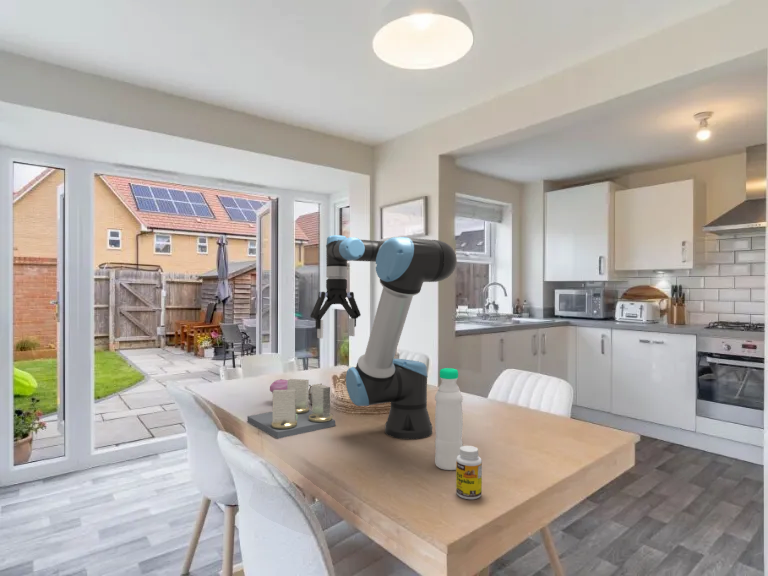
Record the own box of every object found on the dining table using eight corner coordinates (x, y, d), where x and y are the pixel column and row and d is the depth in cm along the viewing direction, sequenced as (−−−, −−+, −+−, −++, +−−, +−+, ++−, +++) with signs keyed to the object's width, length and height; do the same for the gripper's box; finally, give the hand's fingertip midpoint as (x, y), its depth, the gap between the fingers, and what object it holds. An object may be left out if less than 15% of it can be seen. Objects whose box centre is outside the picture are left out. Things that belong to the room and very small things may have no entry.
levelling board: (335, 425, 149) (335, 414, 149) (277, 438, 135) (277, 425, 135) (301, 411, 166) (301, 401, 166) (247, 421, 153) (247, 410, 153)
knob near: (298, 421, 146) (298, 387, 146) (295, 428, 138) (295, 393, 138) (273, 421, 145) (273, 388, 145) (269, 429, 137) (269, 393, 137)
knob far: (312, 408, 162) (312, 378, 162) (304, 414, 154) (304, 382, 155) (291, 407, 164) (292, 377, 164) (282, 412, 156) (283, 381, 156)
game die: (319, 414, 177) (325, 397, 171) (300, 406, 177) (305, 389, 172) (327, 398, 184) (332, 382, 179) (308, 391, 185) (313, 374, 179)
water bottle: (429, 465, 114) (429, 368, 115) (446, 458, 119) (446, 365, 120) (451, 473, 109) (451, 372, 110) (468, 466, 114) (468, 369, 115)
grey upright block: (337, 419, 149) (337, 386, 149) (316, 423, 143) (317, 389, 144) (324, 414, 155) (324, 382, 155) (304, 418, 150) (304, 385, 150)
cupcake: (272, 407, 172) (272, 382, 172) (267, 403, 180) (267, 378, 180) (295, 405, 176) (295, 380, 176) (289, 400, 184) (289, 376, 184)
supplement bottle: (451, 496, 97) (451, 449, 97) (462, 487, 102) (462, 442, 102) (475, 503, 94) (475, 454, 94) (485, 493, 98) (485, 447, 99)
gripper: (358, 279, 172) (357, 334, 171) (301, 277, 156) (300, 338, 155) (370, 279, 166) (369, 335, 166) (312, 277, 150) (311, 340, 150)
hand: (336, 337), depth 160 cm, fingers open, 13 cm apart
